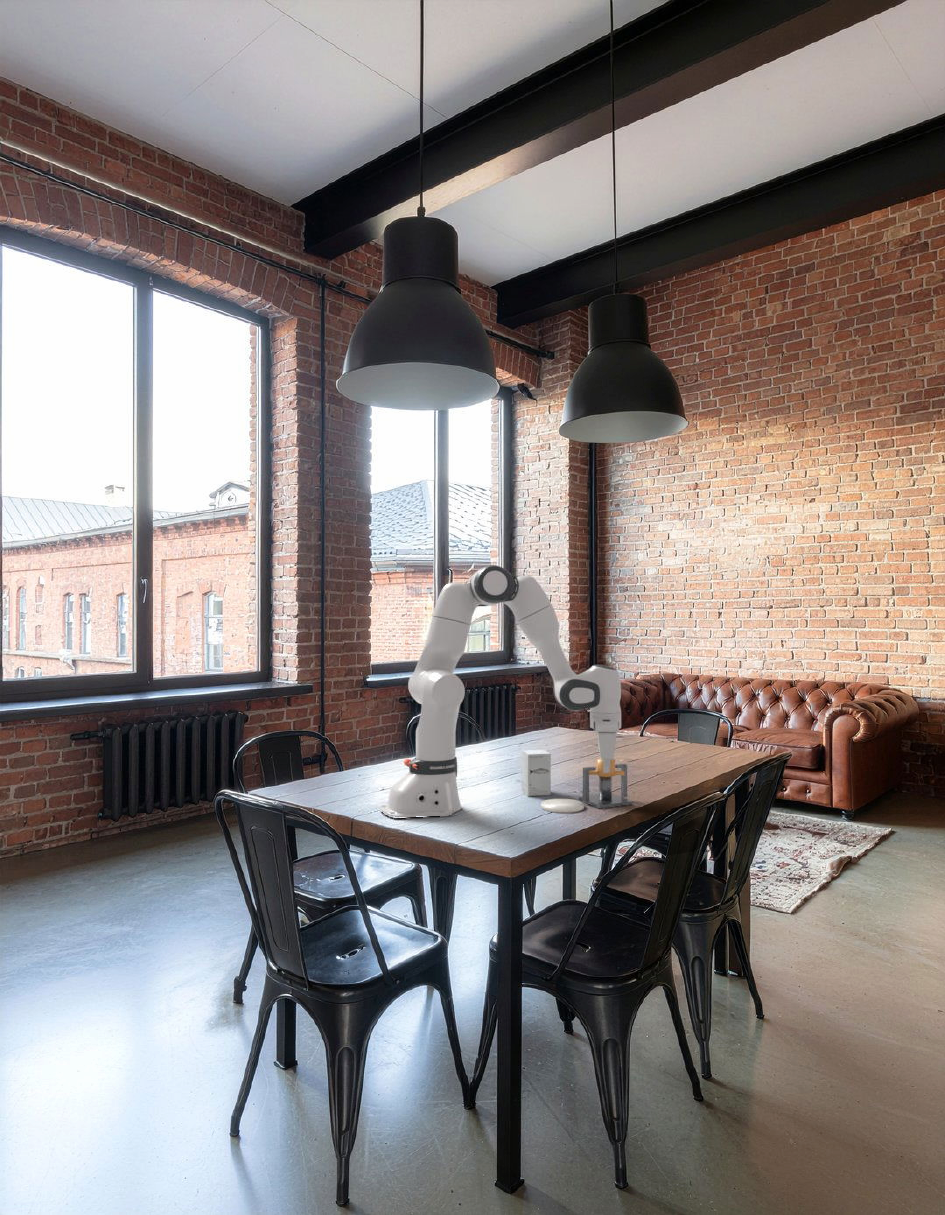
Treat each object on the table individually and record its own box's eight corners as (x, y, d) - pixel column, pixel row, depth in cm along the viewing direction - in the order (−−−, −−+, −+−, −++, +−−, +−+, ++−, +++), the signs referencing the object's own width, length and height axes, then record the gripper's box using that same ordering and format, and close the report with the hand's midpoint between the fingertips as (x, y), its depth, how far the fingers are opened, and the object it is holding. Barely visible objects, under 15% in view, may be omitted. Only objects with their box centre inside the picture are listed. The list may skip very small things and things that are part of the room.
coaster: (554, 814, 211) (554, 811, 211) (533, 804, 222) (533, 801, 222) (592, 810, 216) (592, 806, 216) (570, 800, 227) (570, 797, 227)
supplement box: (527, 797, 232) (527, 754, 232) (521, 791, 239) (520, 749, 239) (551, 795, 233) (551, 753, 233) (544, 790, 240) (544, 749, 241)
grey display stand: (594, 809, 217) (594, 771, 217) (574, 800, 227) (574, 764, 227) (637, 804, 222) (636, 767, 222) (615, 796, 232) (615, 760, 232)
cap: (587, 776, 222) (587, 761, 222) (587, 772, 227) (587, 757, 227) (625, 777, 221) (625, 761, 221) (623, 773, 226) (623, 758, 226)
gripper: (593, 716, 235) (593, 762, 235) (595, 726, 214) (595, 777, 214) (614, 716, 234) (615, 763, 234) (618, 727, 214) (619, 777, 214)
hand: (605, 770), depth 224 cm, fingers closed on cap, 5 cm apart
